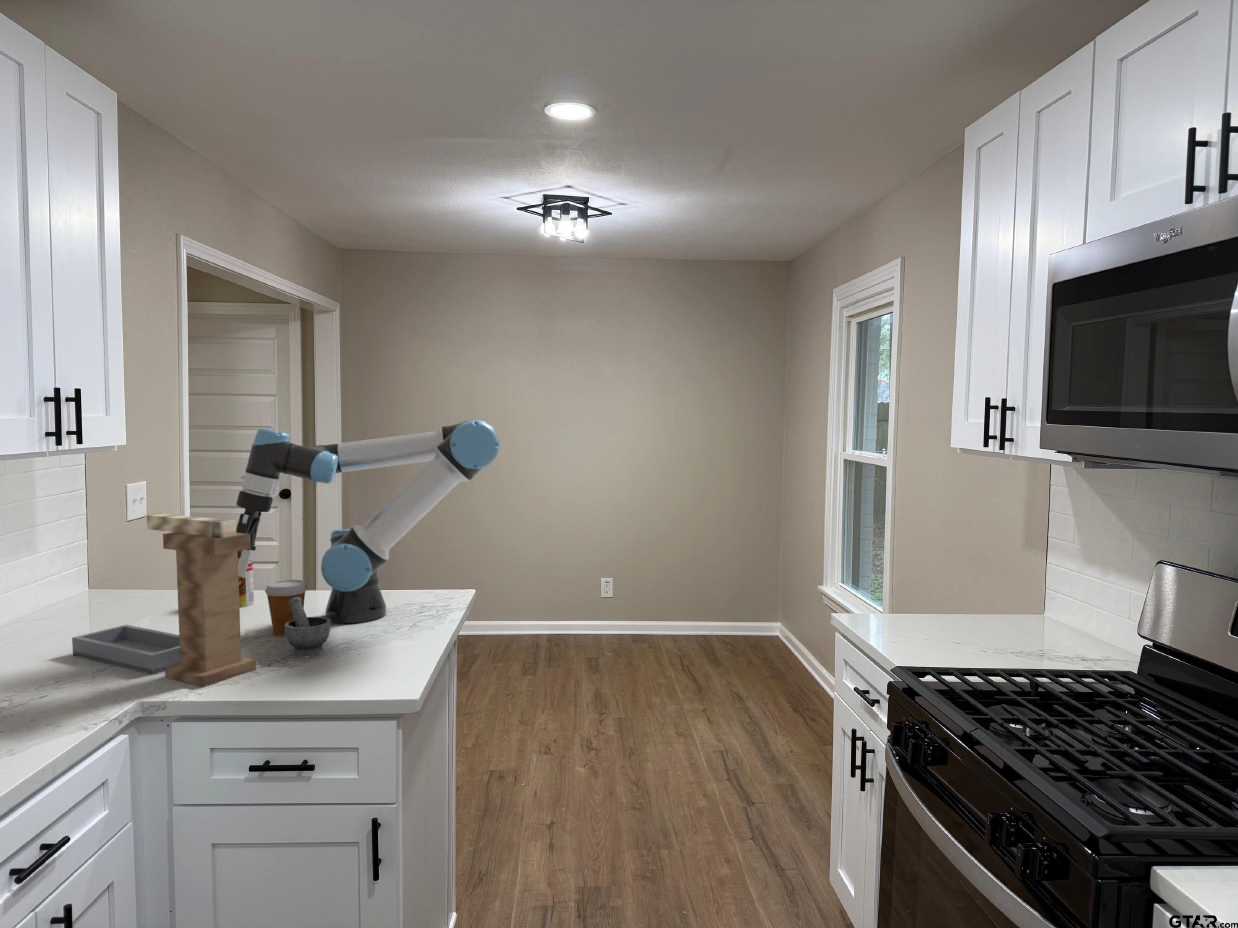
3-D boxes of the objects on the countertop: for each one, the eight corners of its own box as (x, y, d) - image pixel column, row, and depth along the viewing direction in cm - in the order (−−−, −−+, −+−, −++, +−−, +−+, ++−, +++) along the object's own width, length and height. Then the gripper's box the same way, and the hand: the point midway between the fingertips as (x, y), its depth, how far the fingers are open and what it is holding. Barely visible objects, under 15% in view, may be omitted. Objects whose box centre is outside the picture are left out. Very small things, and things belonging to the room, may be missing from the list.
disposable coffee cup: (282, 639, 190) (281, 589, 190) (257, 633, 196) (256, 584, 195) (316, 630, 199) (315, 582, 198) (292, 624, 204) (290, 577, 203)
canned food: (226, 602, 227) (224, 559, 226) (256, 600, 229) (255, 558, 228) (219, 608, 219) (217, 565, 218) (250, 607, 221) (249, 563, 220)
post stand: (159, 675, 165) (153, 535, 163) (212, 659, 176) (207, 527, 173) (211, 688, 158) (205, 541, 156) (262, 670, 168) (258, 532, 166)
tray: (72, 655, 178) (72, 637, 178) (126, 641, 189) (126, 624, 189) (152, 674, 166) (152, 655, 165) (205, 658, 176) (205, 640, 176)
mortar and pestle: (339, 651, 181) (338, 598, 181) (301, 661, 174) (300, 607, 173) (311, 642, 188) (310, 591, 187) (273, 652, 181) (272, 599, 180)
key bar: (144, 529, 170) (144, 515, 170) (162, 526, 174) (162, 513, 174) (220, 538, 160) (220, 522, 159) (238, 535, 163) (238, 520, 163)
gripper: (249, 486, 203) (227, 568, 202) (229, 491, 179) (203, 585, 178) (281, 493, 205) (258, 575, 204) (265, 500, 181) (239, 592, 180)
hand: (232, 580), depth 191 cm, fingers open, 13 cm apart
